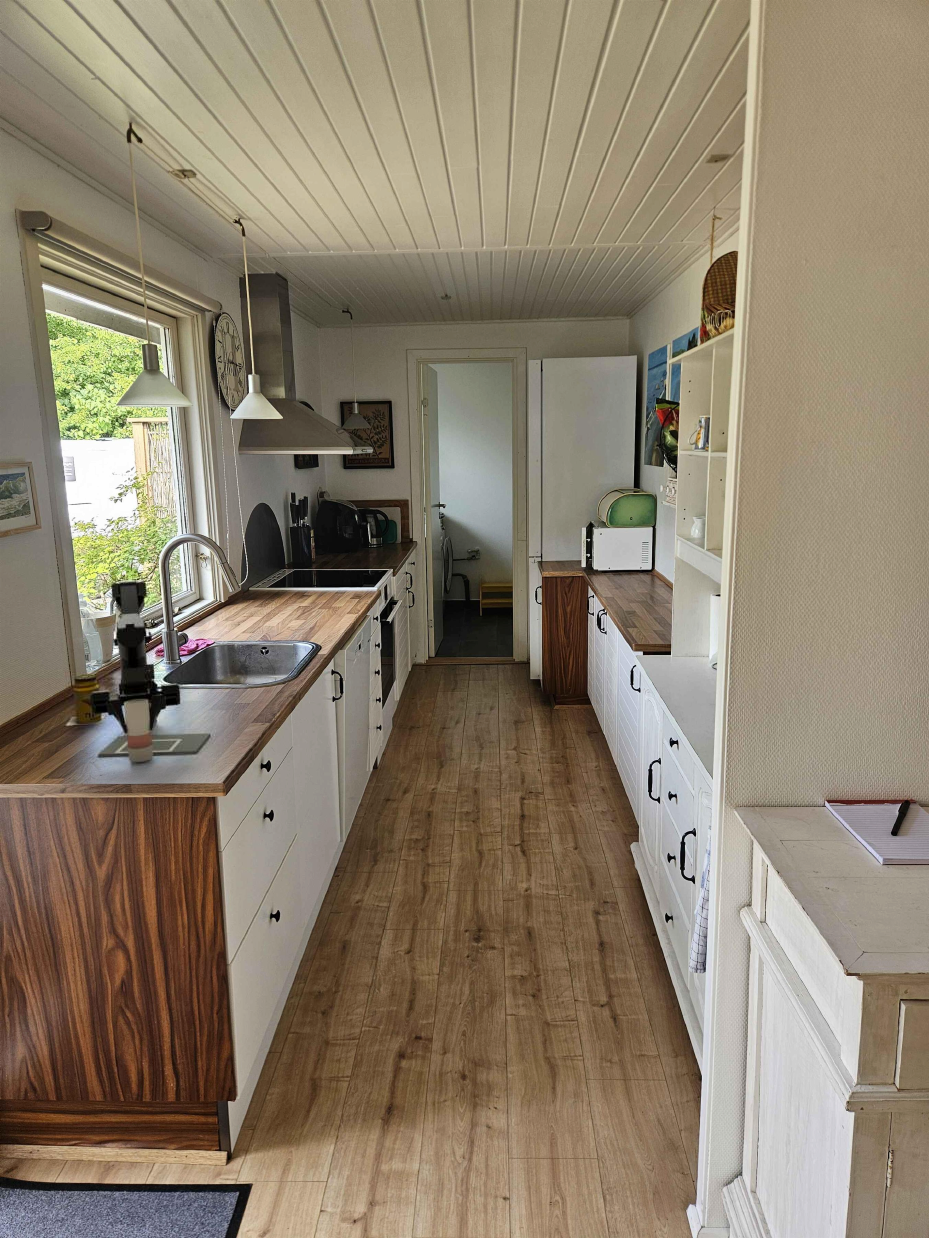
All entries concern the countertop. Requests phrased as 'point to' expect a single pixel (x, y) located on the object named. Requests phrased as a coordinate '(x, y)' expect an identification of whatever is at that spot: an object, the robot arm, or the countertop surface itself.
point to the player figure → (138, 730)
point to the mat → (160, 745)
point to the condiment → (85, 701)
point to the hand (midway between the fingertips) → (138, 731)
